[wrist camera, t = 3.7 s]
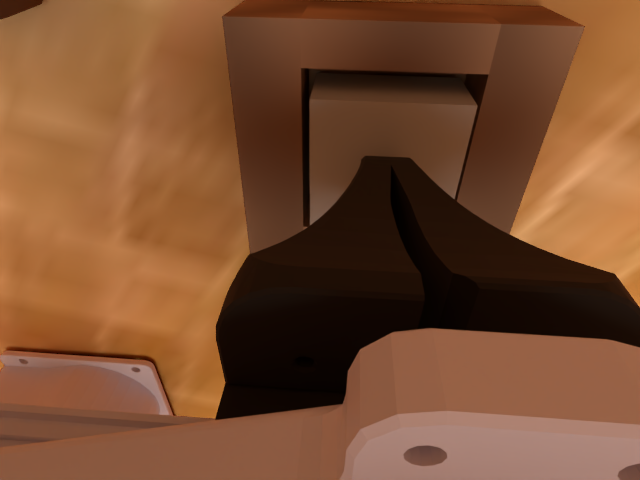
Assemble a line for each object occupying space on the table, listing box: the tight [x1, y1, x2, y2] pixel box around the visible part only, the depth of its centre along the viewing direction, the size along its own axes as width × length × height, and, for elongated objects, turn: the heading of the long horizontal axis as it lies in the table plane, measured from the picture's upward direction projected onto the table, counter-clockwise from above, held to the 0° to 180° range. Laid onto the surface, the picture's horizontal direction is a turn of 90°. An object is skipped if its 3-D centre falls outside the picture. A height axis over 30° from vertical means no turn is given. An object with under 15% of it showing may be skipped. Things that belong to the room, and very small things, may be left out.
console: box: [222, 0, 585, 254], centre depth 20 cm, size 9×26×3 cm, turn 179°
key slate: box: [310, 73, 478, 225], centre depth 13 cm, size 4×4×2 cm
